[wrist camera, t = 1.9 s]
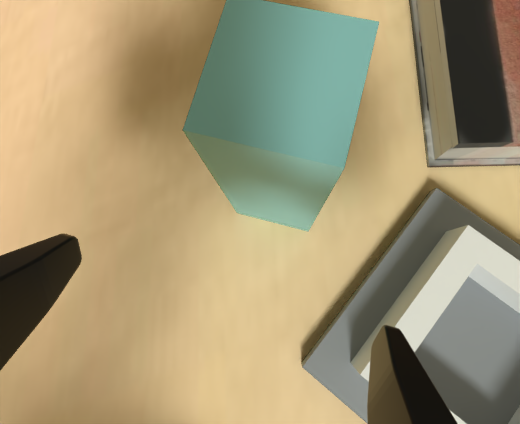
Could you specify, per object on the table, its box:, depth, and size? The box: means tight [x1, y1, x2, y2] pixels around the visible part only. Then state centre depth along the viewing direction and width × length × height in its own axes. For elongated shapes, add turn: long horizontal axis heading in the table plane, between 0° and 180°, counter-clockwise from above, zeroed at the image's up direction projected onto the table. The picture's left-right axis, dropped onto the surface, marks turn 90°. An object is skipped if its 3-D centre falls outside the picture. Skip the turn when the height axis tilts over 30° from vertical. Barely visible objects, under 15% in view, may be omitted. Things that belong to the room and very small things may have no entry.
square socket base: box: [301, 188, 520, 424], centre depth 19 cm, size 14×14×4 cm
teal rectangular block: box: [183, 0, 379, 231], centre depth 17 cm, size 5×5×13 cm
